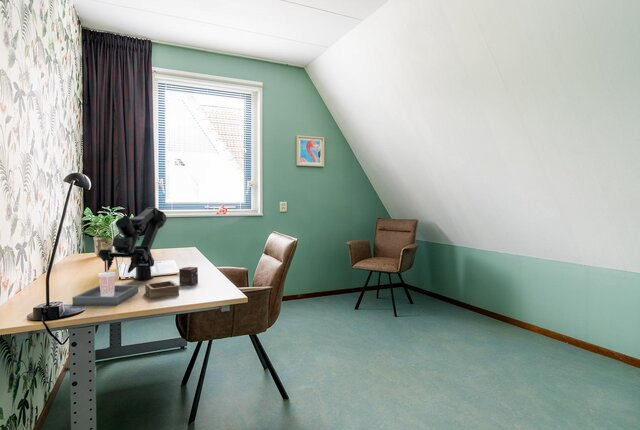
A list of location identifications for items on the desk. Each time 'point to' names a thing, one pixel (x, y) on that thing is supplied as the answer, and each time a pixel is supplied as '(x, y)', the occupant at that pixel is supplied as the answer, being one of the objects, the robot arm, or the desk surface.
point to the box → (188, 276)
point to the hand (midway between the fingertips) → (117, 272)
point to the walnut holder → (161, 289)
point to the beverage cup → (107, 283)
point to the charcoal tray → (95, 297)
